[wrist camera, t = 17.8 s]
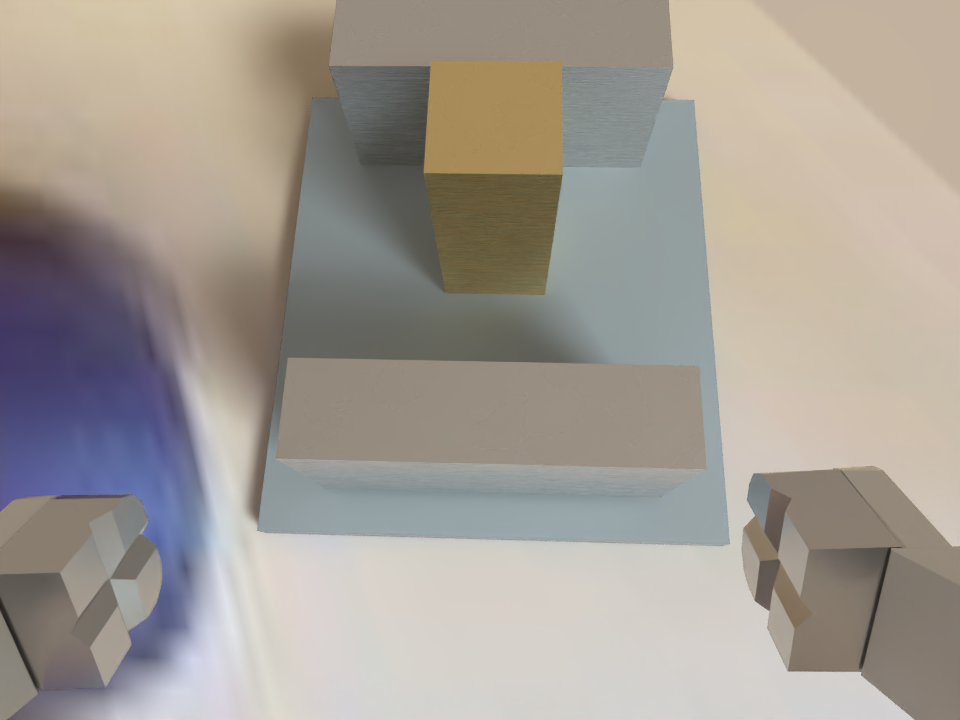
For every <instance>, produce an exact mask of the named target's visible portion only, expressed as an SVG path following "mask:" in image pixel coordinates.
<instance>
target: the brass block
mask: <svg viewBox="0 0 960 720" xmlns="http://www.w3.org/2000/svg"><path fill="white" fill-rule="evenodd" d="M562 176H563V141H562V61H448V60H431V67H430V82H429V98H428V113H427V128H426V143H425V159H424V178H425V184H426V189H427V195H428V200H429V205H430V211H431V216H432V222H433V227H434V233H435V238H436V244H437V249H438V254H439V260H440V265H441V271H442V276H443V282H444V287H445V292H446V293H456V294H515V295H545V291H546V285H547V278H548V271H549V264H550V257H551V251H552V244H553V237H554V230H555V224H556V217H557V210H558V203H559V197H560V190H561V183H562Z"/></svg>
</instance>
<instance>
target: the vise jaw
mask: <svg viewBox="0 0 960 720" xmlns="http://www.w3.org/2000/svg"><path fill="white" fill-rule="evenodd" d="M275 459H277V460H278V461H280V462H282V463H283V464H285V465H287V466H288V467H290V468H292V469H294V470H295V471H297V472H299V473H300V474H302V475H304V476H305V477H307V478H309V479H310V480H312V481H314V482H315V483H317V484H319V485H320V486H322V487H324V488H325V489H346V490H384V491H422V492H460V493H498V494H536V495H573V496H611V497H649V498H660V497H662V496H664V495H665V494H667V493H669V492H670V491H672V490H674V489H675V488H677V487H678V486H680V485H682V484H683V483H685V482H687V481H688V480H690V479H692V478H693V477H695V476H697V475H698V474H700V473H702V472H703V471H705V470H707V464H706V451H705V437H704V423H703V410H702V396H701V382H700V369H699V366H689V365H638V364H587V363H536V362H485V361H434V360H382V359H331V358H288V361H287V369H286V377H285V385H284V393H283V402H282V410H281V418H280V426H279V434H278V442H277V450H276V458H275Z"/></svg>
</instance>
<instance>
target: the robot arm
mask: <svg viewBox="0 0 960 720" xmlns="http://www.w3.org/2000/svg"><path fill="white" fill-rule="evenodd" d="M747 501H748V503H749V505H750V507H751V508H752V510H753V512H754V514H755V517H754V518H753V519H752V520H751V521H750V522H749V523H748V524H747V525H746V526H745V527H744V529H743V540H742V557H743V567H744V573H745V576H746V580H747V583H748V587H749V589H750V591H751V593H752V596H753V598H754V600H755V601H756V602H757V603H759V604H760V605H761V606H763V607H764V608H766V609H767V610H769V611H770V612H769V619H768V626H767V629H768V631H769V633H770V635H771V637H772V639H773V641H774V643H775V646H776V648H777V650H778V652H779V654H780V656H781V658H782V660H783V663H784V665H785V667H786V669H787V671H815V672H862V673H861V675H862V676H863V677H864V678H865V679H866V680H868V681H869V682H870V683H871V684H872V685H874V686H875V687H876V688H877V689H878V690H880V691H881V692H882V693H883V694H884V695H886V696H887V697H888V698H889V699H890V700H892V701H893V702H894V703H895V704H896V705H898V706H899V707H900V708H901V709H902V710H904V711H905V712H906V713H907V714H908V715H910V716H911V717H912V718H913V719H915V720H960V547H952V546H951V545H950V544H949V543H948V541H947V540H946V539H945V538H944V537H943V536H942V535H941V534H940V533H939V532H938V530H937V529H936V528H935V527H934V526H933V525H932V524H931V523H930V522H929V521H928V519H927V518H926V517H925V516H924V515H923V514H922V513H921V512H920V511H919V510H918V508H917V507H916V506H915V505H914V504H913V503H912V502H911V501H910V500H909V499H908V497H907V496H906V495H905V494H904V493H903V492H902V491H901V490H900V489H899V488H898V486H897V485H896V484H895V483H894V482H893V481H892V480H891V479H890V478H889V477H888V475H887V474H886V473H885V472H884V471H883V470H881V469H879V468H877V467H874V466H865V467H851V468H836V469H833V470H813V471H793V472H773V473H754V474H753V476H752V479H751V481H750V484H749V490H748V497H747ZM147 522H148V517H147V515H146V512H145V509H144V506H143V504H142V501H141V500H140V499H138V498H137V497H135V496H133V495H131V494H128V495H62V496H55V495H54V496H30V497H23V498H19V499H15V500H13V501H12V502H11V503H10V504H9V505H7V506H6V507H5V508H4V509H3V510H2V511H1V512H0V720H7V719H8V718H10V717H11V716H12V715H13V714H14V713H16V712H17V711H18V710H19V709H21V708H22V707H23V706H24V705H26V704H27V703H28V702H29V701H30V700H32V699H33V698H34V697H35V696H37V694H38V692H37V691H44V690H63V689H82V688H101V687H106V686H107V684H108V682H109V681H110V679H111V677H112V676H113V674H114V672H115V671H116V669H117V667H118V666H119V664H120V663H121V661H122V659H123V658H124V656H125V654H126V653H127V651H128V649H129V648H130V646H131V641H130V637H129V634H128V631H129V630H131V629H132V628H133V627H135V626H136V625H138V624H139V623H141V622H142V621H144V620H145V619H146V618H148V616H149V614H150V613H151V611H152V609H153V607H154V606H155V604H156V602H157V600H158V595H159V591H160V587H161V582H162V565H161V559H160V556H159V552H158V549H157V547H156V546H155V545H154V544H153V543H152V542H151V541H149V540H148V539H147V538H146V537H145V536H143V535H142V532H143V530H144V528H145V526H146V524H147Z"/></svg>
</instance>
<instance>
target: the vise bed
mask: <svg viewBox="0 0 960 720" xmlns="http://www.w3.org/2000/svg"><path fill="white" fill-rule="evenodd" d="M431 60H448V61H562V141H563V176H562V183H561V190H560V197H559V203H558V210H557V217H556V224H555V230H554V237H553V244H552V251H551V257H550V264H549V271H548V278H547V285H546V291H545V295H515V294H456V293H446V292H445V287H444V282H443V276H442V271H441V265H440V260H439V254H438V249H437V244H436V238H435V233H434V227H433V222H432V216H431V211H430V205H429V200H428V195H427V189H426V184H425V178H424V159H425V143H426V128H427V113H428V98H429V82H430V67H431ZM329 68H330V71H331V74H332V77H333V81H334V84H335V87H336V90H337V93H338V96H339V98H312V106H311V114H310V121H309V129H308V137H307V145H306V153H305V161H304V168H303V176H302V184H301V192H300V200H299V208H298V215H297V223H296V231H295V239H294V247H293V254H292V262H291V270H290V278H289V286H288V294H287V301H286V309H285V317H284V325H283V333H282V341H281V348H280V356H279V364H278V372H277V380H276V387H275V395H274V403H273V411H272V419H271V427H270V434H269V442H268V450H267V458H266V466H265V474H264V481H263V489H262V497H261V505H260V513H259V520H258V528H257V531H261V532H265V533H289V534H323V535H358V536H393V537H427V538H462V539H497V540H531V541H566V542H601V543H636V544H670V545H705V546H724V545H728V544H730V540H729V527H728V515H727V503H726V490H725V478H724V466H723V453H722V441H721V428H720V416H719V404H718V391H717V379H716V367H715V354H714V342H713V329H712V317H711V305H710V292H709V280H708V268H707V255H706V243H705V230H704V218H703V206H702V193H701V181H700V169H699V156H698V144H697V131H696V119H695V107H694V100H663V97H664V94H665V91H666V88H667V85H668V82H669V79H670V76H671V73H672V70H673V57H672V43H671V29H670V14H669V0H337V1H336V10H335V18H334V26H333V34H332V43H331V51H330V59H329ZM288 358H331V359H382V360H434V361H485V362H536V363H587V364H638V365H689V366H699V369H700V382H701V396H702V410H703V423H704V437H705V451H706V464H707V470H705V471H703V472H702V473H700V474H698V475H697V476H695V477H693V478H692V479H690V480H688V481H687V482H685V483H683V484H682V485H680V486H678V487H677V488H675V489H674V490H672V491H670V492H669V493H667V494H665V495H664V496H662V497H660V498H649V497H611V496H573V495H536V494H498V493H460V492H422V491H384V490H346V489H325V488H324V487H322V486H320V485H319V484H317V483H315V482H314V481H312V480H310V479H309V478H307V477H305V476H304V475H302V474H300V473H299V472H297V471H295V470H294V469H292V468H290V467H288V466H287V465H285V464H283V463H282V462H280V461H278V460H277V459H275V458H276V450H277V442H278V434H279V426H280V418H281V410H282V402H283V393H284V385H285V377H286V369H287V361H288Z"/></svg>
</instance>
